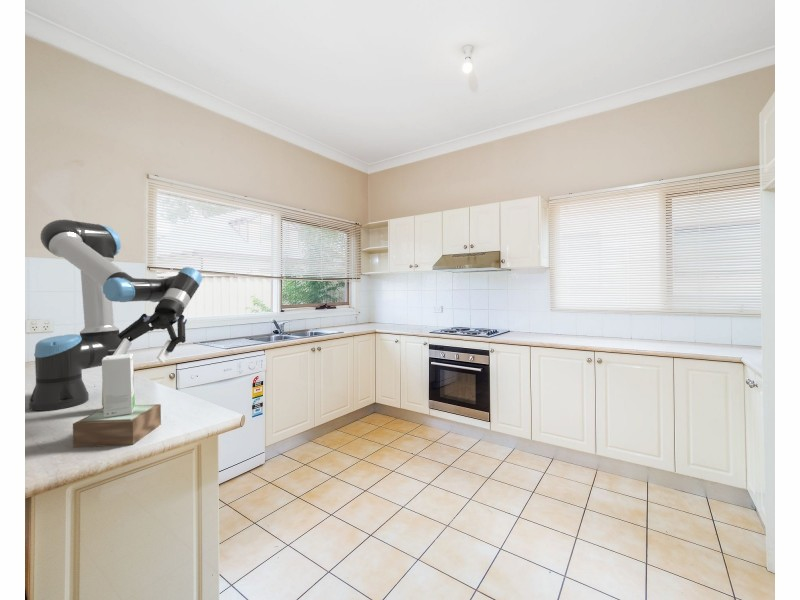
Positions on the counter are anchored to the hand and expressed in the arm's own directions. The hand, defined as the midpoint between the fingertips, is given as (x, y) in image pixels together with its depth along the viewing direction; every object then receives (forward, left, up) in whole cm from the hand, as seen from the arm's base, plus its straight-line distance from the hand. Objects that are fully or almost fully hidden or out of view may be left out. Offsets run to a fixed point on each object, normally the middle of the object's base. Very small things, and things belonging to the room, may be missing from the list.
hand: (137, 359), depth 106 cm
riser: (+6, -2, -20) cm, 21 cm away
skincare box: (+6, -2, -14) cm, 15 cm away
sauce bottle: (-17, -17, -20) cm, 31 cm away
